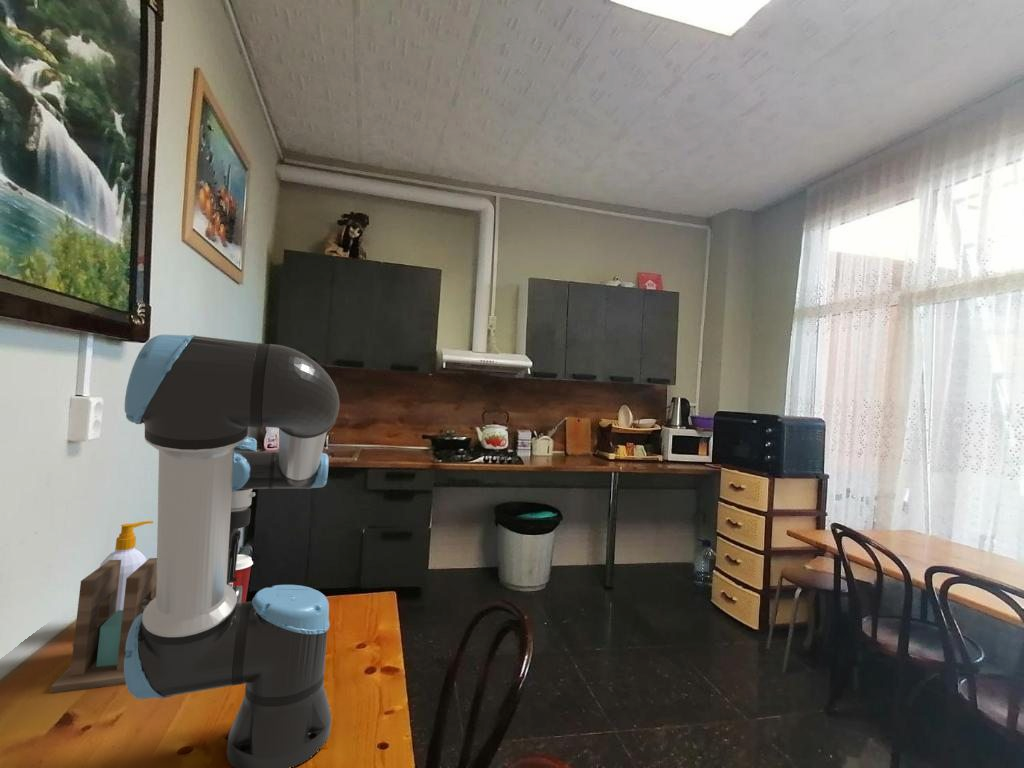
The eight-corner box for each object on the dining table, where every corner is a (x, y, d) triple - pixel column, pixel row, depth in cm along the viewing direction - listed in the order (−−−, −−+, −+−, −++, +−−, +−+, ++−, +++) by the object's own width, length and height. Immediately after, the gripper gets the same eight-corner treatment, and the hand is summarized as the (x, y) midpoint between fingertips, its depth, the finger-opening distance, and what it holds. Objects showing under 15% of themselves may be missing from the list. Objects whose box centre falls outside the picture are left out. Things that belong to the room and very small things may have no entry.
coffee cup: (236, 611, 118) (241, 551, 119) (254, 620, 114) (260, 558, 115) (200, 623, 111) (207, 559, 112) (219, 633, 107) (225, 567, 108)
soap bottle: (152, 626, 108) (162, 523, 109) (102, 643, 100) (114, 531, 101) (132, 617, 112) (143, 517, 113) (83, 632, 104) (95, 524, 105)
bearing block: (163, 679, 89) (173, 581, 90) (49, 693, 83) (61, 587, 84) (190, 634, 106) (198, 552, 107) (97, 643, 100) (107, 556, 101)
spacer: (119, 664, 91) (123, 625, 91) (96, 666, 90) (100, 627, 90) (134, 645, 98) (138, 608, 98) (113, 647, 96) (117, 610, 97)
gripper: (244, 516, 95) (233, 633, 94) (256, 500, 110) (247, 600, 109) (201, 516, 93) (189, 637, 91) (220, 500, 108) (210, 603, 106)
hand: (221, 617), depth 100 cm, fingers closed on shaft, 3 cm apart
